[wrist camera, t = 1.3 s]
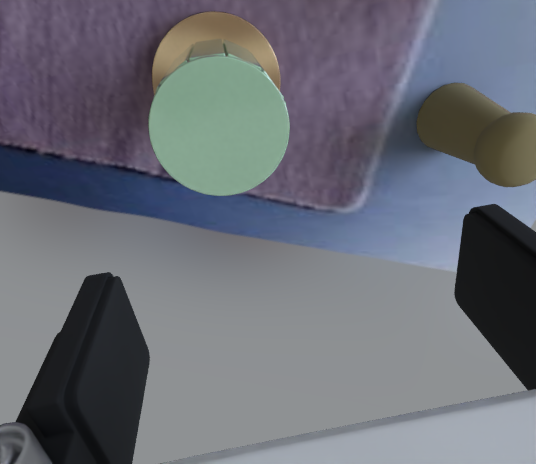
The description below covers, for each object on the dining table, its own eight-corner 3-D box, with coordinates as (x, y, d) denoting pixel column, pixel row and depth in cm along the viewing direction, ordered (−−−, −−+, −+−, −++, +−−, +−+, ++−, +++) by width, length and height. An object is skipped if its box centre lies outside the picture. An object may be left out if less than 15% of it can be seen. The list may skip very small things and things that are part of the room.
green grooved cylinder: (154, 48, 26) (129, 68, 18) (261, 32, 26) (282, 45, 19) (179, 151, 30) (168, 205, 22) (273, 137, 30) (295, 184, 22)
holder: (138, 21, 30) (88, 35, 18) (270, 2, 31) (309, 4, 19) (170, 150, 35) (149, 228, 23) (284, 132, 36) (321, 200, 24)
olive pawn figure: (413, 153, 38) (480, 205, 29) (419, 86, 35) (496, 119, 26) (475, 145, 38) (561, 193, 29) (486, 78, 35) (587, 107, 26)
